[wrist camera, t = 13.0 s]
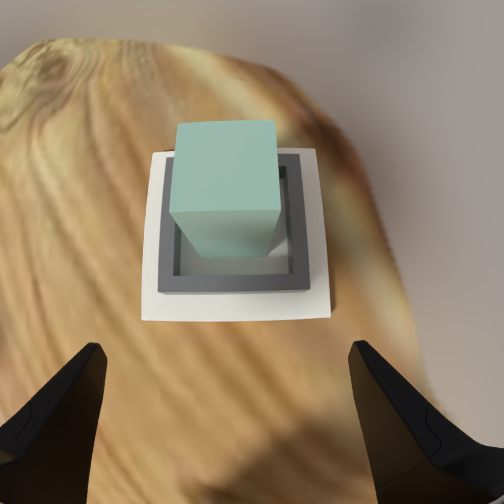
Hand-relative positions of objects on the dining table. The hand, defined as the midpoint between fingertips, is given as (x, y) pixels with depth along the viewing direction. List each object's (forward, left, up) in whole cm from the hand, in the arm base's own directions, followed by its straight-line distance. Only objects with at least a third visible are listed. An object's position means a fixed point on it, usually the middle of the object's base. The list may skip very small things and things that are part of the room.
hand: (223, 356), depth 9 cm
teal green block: (+8, 0, -10) cm, 12 cm away
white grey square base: (+8, 0, -11) cm, 13 cm away
